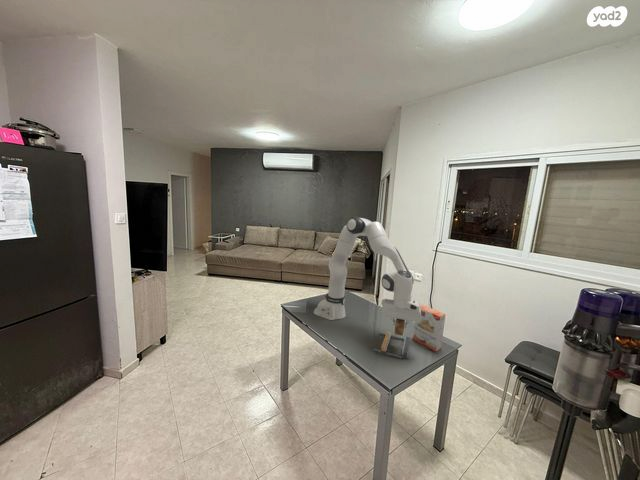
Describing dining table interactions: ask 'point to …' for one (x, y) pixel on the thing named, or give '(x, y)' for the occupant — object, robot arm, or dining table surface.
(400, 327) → the walnut block
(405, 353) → the base
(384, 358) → the dining table surface
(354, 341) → the dining table surface
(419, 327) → the cracker box
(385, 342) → the sliding jaw
